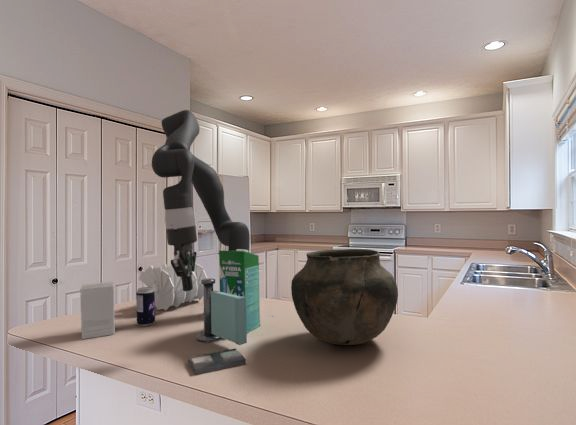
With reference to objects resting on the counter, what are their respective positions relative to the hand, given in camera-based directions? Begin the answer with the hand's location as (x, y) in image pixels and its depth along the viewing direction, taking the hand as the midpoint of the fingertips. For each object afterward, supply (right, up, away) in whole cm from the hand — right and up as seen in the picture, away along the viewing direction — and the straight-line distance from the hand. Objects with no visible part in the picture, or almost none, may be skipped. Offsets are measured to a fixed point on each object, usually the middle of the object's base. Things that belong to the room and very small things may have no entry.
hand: (188, 290), depth 97 cm
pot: (+42, -15, +4) cm, 45 cm away
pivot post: (+4, -16, +9) cm, 19 cm away
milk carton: (+12, -16, +18) cm, 27 cm away
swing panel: (+10, -14, +3) cm, 17 cm away
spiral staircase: (-18, -17, +50) cm, 56 cm away
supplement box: (-32, -17, +16) cm, 40 cm away
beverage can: (-21, -17, +24) cm, 36 cm away
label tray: (+9, -16, -9) cm, 20 cm away
